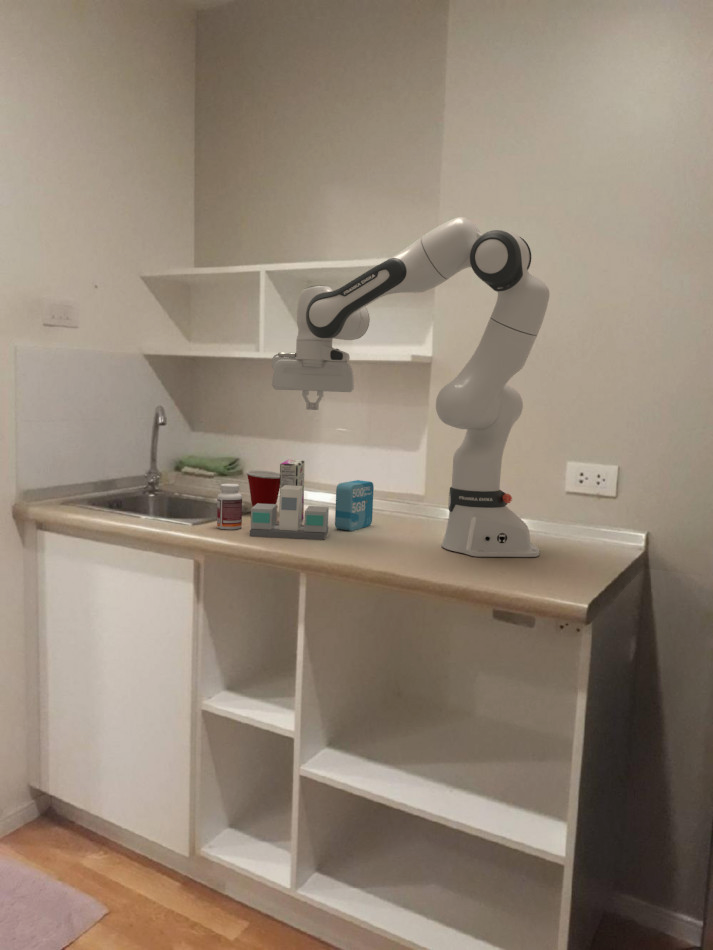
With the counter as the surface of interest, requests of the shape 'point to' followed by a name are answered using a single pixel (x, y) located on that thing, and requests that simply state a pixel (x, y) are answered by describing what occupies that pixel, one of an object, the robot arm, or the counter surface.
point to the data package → (354, 505)
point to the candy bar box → (293, 476)
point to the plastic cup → (263, 486)
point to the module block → (290, 507)
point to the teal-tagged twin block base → (268, 527)
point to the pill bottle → (229, 507)
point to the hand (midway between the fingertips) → (312, 409)
